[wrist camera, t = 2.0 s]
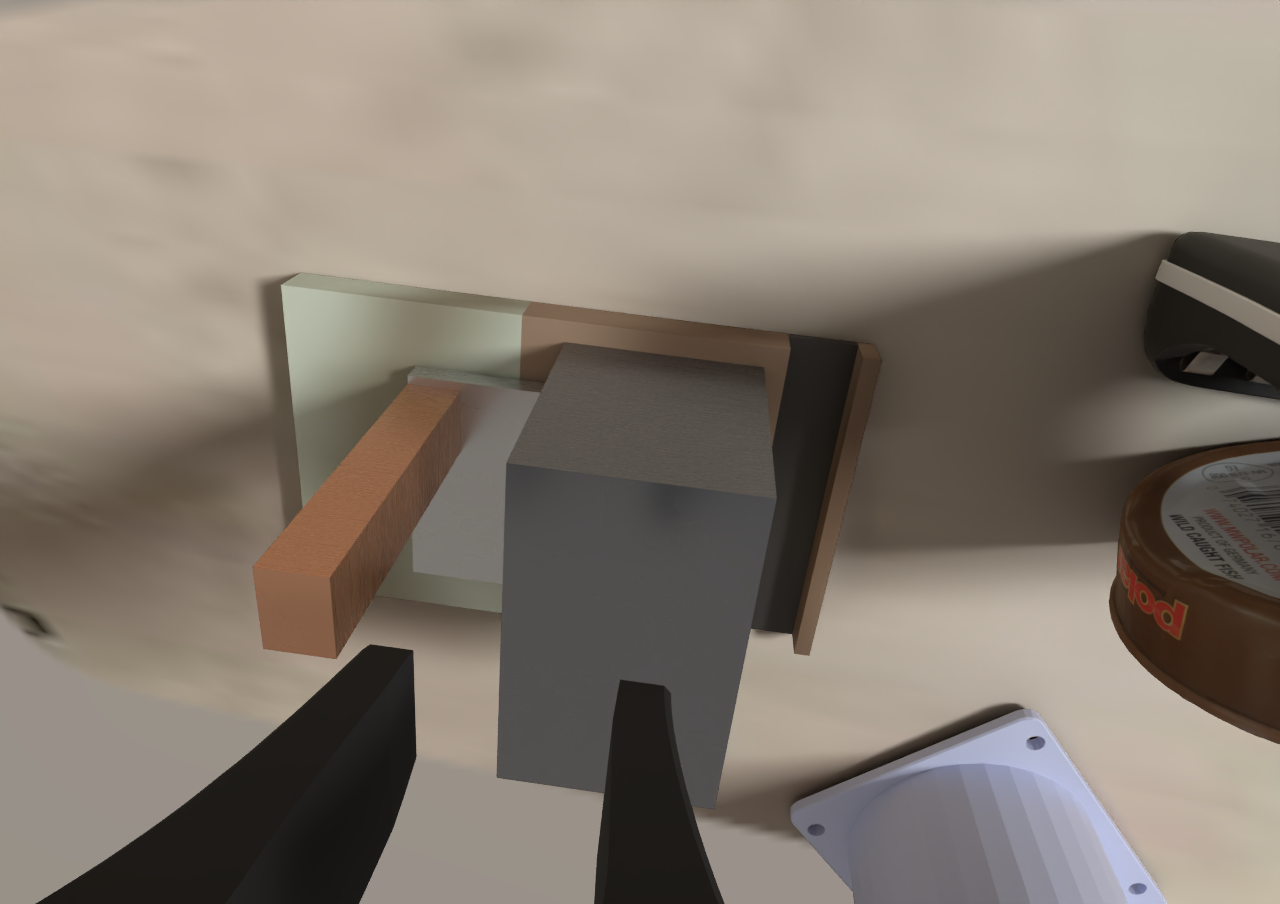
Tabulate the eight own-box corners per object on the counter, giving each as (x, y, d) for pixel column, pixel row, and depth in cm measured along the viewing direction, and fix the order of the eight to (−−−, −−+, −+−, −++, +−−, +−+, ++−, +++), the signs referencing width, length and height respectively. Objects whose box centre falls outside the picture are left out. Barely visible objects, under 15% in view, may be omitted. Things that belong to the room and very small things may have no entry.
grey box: (764, 367, 19) (776, 498, 14) (718, 627, 23) (714, 809, 18) (565, 342, 20) (506, 462, 14) (548, 604, 23) (496, 777, 18)
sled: (748, 408, 20) (758, 626, 13) (715, 598, 22) (708, 866, 15) (416, 365, 20) (251, 556, 13) (420, 558, 23) (284, 803, 16)
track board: (874, 344, 20) (881, 360, 19) (806, 631, 24) (808, 655, 23) (300, 272, 20) (281, 285, 20) (325, 565, 24) (310, 586, 23)
